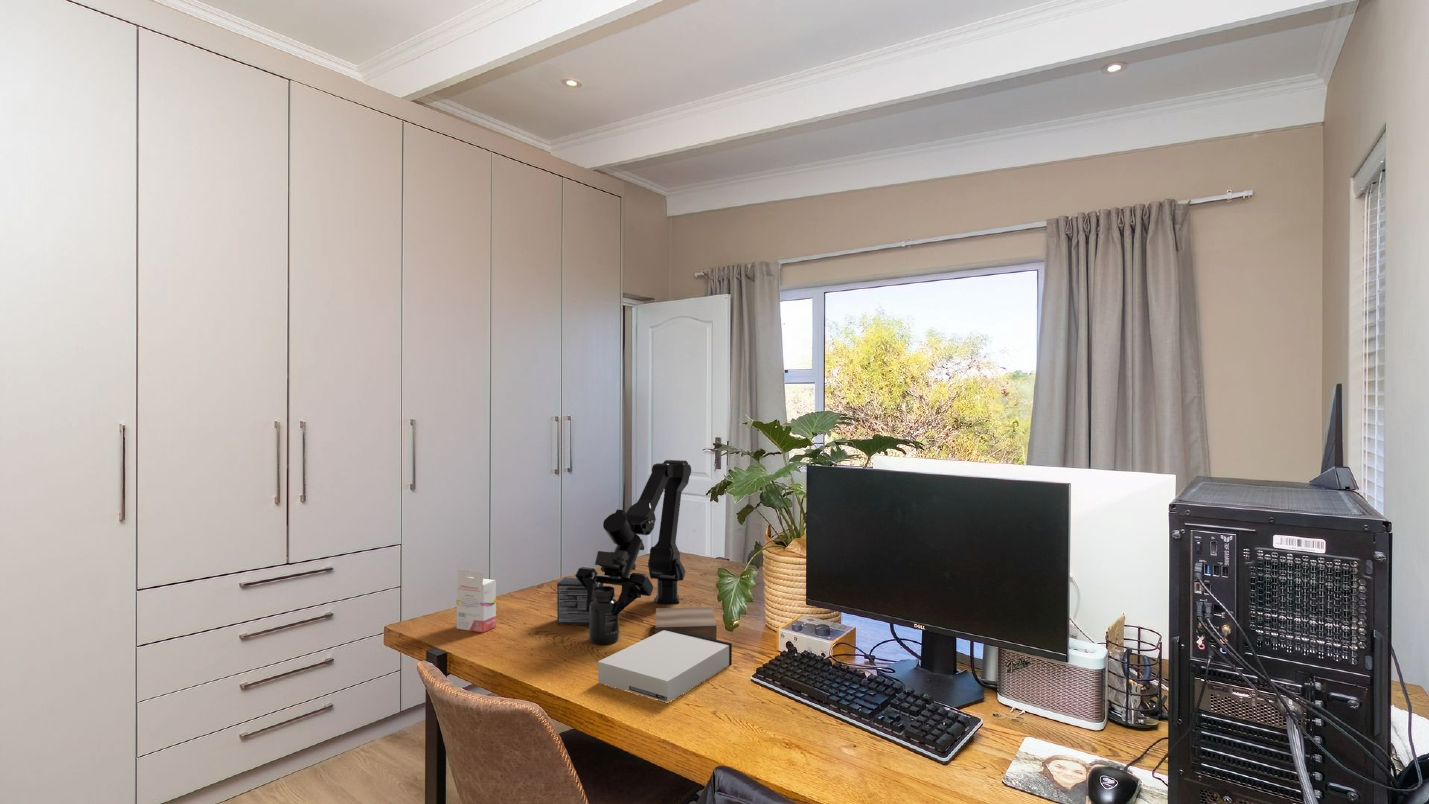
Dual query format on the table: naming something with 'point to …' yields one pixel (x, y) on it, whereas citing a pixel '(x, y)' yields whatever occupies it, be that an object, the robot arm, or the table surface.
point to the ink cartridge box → (475, 601)
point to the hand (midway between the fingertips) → (600, 613)
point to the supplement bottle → (603, 617)
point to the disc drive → (665, 664)
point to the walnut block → (687, 621)
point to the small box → (572, 602)
